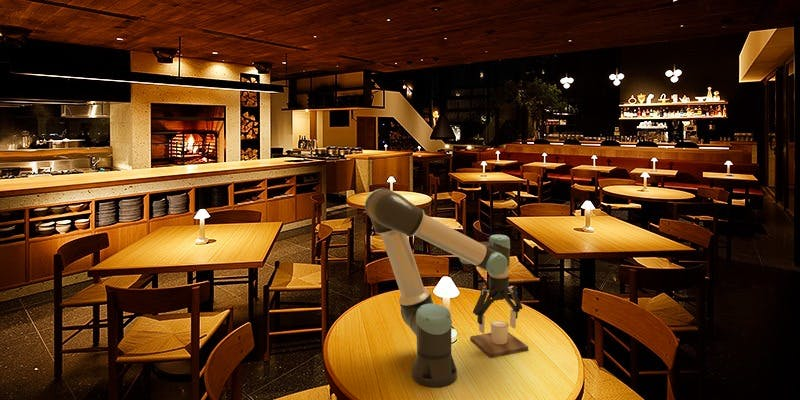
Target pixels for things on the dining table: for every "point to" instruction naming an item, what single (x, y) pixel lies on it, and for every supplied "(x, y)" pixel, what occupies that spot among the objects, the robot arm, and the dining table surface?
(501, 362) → the dining table surface
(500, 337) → the beige cylinder
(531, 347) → the dining table surface
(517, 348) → the serving board
